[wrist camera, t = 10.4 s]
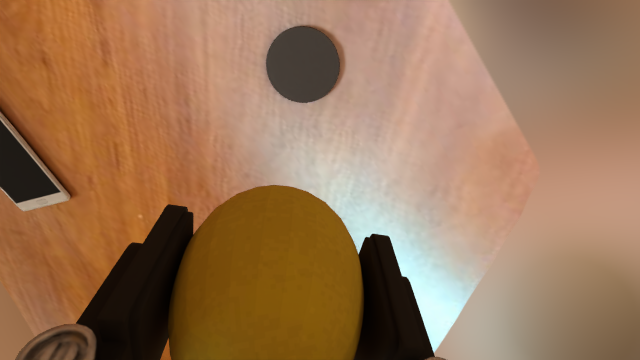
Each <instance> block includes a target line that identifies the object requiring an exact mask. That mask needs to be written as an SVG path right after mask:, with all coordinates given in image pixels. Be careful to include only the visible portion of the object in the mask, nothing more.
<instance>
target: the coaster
mask: <svg viewBox="0 0 640 360" xmlns="http://www.w3.org/2000/svg"><path fill="white" fill-rule="evenodd" d="M266 67H267V74H268V77H269V80H270V82H271V84H272V85H273V87H274V88H275V89H276V90H277V91H278V92H279V93H280V94H281V95H282V96H284V97H285V98H287V99H289V100H291V101H295V102H300V103H307V102H313V101H316V100H318V99H320V98H322V97H324V96H325V95H326V94H327V93H328V92H329V91H330V90H331V89H332V88H333V86H334V85H335V83H336V81H337V78H338V75H339V67H340V63H339V57H338V53H337V50H336V48H335V46H334V44H333V43H332V41H331V40H330V39H329V38H328V37H327V36H326V35H325V34H324V33H322V32H321V31H319V30H317V29H314V28H311V27H305V26H299V27H294V28H290V29H288V30H286V31H284V32H283V33H281V34H280V35H279V36H278V37H277V38H276V39H275V40H274V41H273V43H272V45H271V47H270V49H269V51H268V54H267V60H266Z"/></svg>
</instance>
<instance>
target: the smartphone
mask: <svg viewBox="0 0 640 360" xmlns="http://www.w3.org/2000/svg"><path fill="white" fill-rule="evenodd" d="M0 188H1V189H2V191H3V192H4V193H5V194H6V195H7V196H8V197H9V198H10V199H11V200H12V201H13V202H14V203H15V204H16V205H17V206H18V207H19V208H20V209H21V210H23V211H29V210H33V209H37V208H40V207H44V206H48V205H52V204H56V203H60V202H64V201H68V200H69V199H70V194H69V193H68V192H67V191H66V190H65V188H64V187H63V186H62V185H61V184H60V182H59V181H58V180H57V179H56V178H55V176H54V175H53V174H52V173H51V171H50V170H49V169H48V168H47V167H46V165H45V164H44V163H43V162H42V161H41V159H40V158H39V157H38V156H37V155H36V153H35V152H34V151H33V150H32V149H31V147H30V146H29V145H28V144H27V143H26V141H25V140H24V139H23V138H22V136H21V135H20V134H19V133H18V132H17V130H16V129H15V128H14V127H13V126H12V124H11V123H10V122H9V121H8V120H7V118H6V117H5V116H4V115H3V114H2V112H1V111H0Z"/></svg>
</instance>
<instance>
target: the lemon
mask: <svg viewBox="0 0 640 360" xmlns="http://www.w3.org/2000/svg"><path fill="white" fill-rule="evenodd" d="M363 313H364V287H363V278H362V272H361V265H360V260H359V256H358V252H357V249H356V246H355V244H354V242H353V239H352V237H351V236H350V234H349V232H348V230H347V228H346V226H345V225H344V223H343V221H342V220H341V218H340V217H339V216H338V215H337V214H336V213H335V212H334V211H333V210H332V209H331V208H330V207H329V206H328V205H327V204H326V203H325V202H324V201H322V200H320V199H319V198H317V197H315V196H314V195H312V194H310V193H309V192H307V191H303V190H300V189H297V188H294V187H289V186H279V185H270V186H261V187H256V188H253V189H250V190H247V191H244V192H241V193H238V194H236V195H235V196H233V197H232V198H230V199H229V200H227V201H226V202H224V203H223V204H221V205H220V206H218V207H217V208H216V209H215V210H214V211H213V212H212V213H211V214H210V215H209V216H208V217H207V219H206V220H205V221H204V222H203V223H202V225H201V226H200V227H199V228H198V230H197V231H196V232H195V233H194V235H193V237H192V238H191V240H190V242H189V244H188V246H187V248H186V250H185V252H184V255H183V258H182V260H181V263H180V266H179V269H178V271H177V274H176V278H175V281H174V284H173V288H172V293H171V299H170V306H169V317H168V333H169V347H170V356H171V360H354V357H355V354H356V350H357V347H358V343H359V338H360V334H361V328H362V322H363Z"/></svg>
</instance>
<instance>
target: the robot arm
mask: <svg viewBox="0 0 640 360" xmlns="http://www.w3.org/2000/svg"><path fill="white" fill-rule="evenodd" d="M192 237H193V213H192V212H188V209H187V207H183V206H176V205H167V206H166V207H165V209H164V211H163V212H162V214H161V215H160V217H159V219H158V220H157V222H156V223H155V225H154V227H153V228H152V230H151V231H150V233H149V235H148V236H147V238H146V239H145V241H144V243H143V244H142V243H131V244H130V245H129V246H128V247H127V248H126V250H125V251H124V253H123V254H122V256H121V257H120V259H119V260H118V262H117V263H116V265H115V266H114V268H113V269H112V270H111V272H110V273H109V275H108V276H107V278H106V279H105V281H104V282H103V284H102V285H101V287H100V288H99V290H98V291H97V293H96V294H95V296H94V297H93V299H92V300H91V302H90V303H89V305H88V306H87V308H86V309H85V311H84V312H83V314H82V315H81V317H80V318H79V320H78V321H77V322H76V324H64V325H61V326H57V327H53V328H51V329H49V330H47V331H45V332H43V333H41V334H39V335H38V336H36V337H35V338H33V339H32V340H31V341H29V342H28V343H27V344H26V345H25V347H24V348H23V349H22V350H21V351H20V352H19V354H18V355H17V357H16V359H15V360H160V358H161V356H162V353H163V350H164V348H165V345H166V343H167V340H168V338H169V333H168V317H169V306H170V299H171V293H172V288H173V284H174V281H175V278H176V274H177V271H178V269H179V266H180V263H181V260H182V258H183V255H184V252H185V250H186V248H187V246H188V244H189V242H190V240H191V238H192ZM358 256H359V260H360V265H361V272H362V278H363V287H364V313H363V322H362V328H361V334H360V338H359V343H358V347H357V350H356V354H355V357H354V360H446V359H443V358H440V357H435V356H434V353H433V350H432V347H431V344H430V341H429V338H428V335H427V332H426V329H425V326H424V323H423V320H422V317H421V314H420V311H419V308H418V305H417V302H416V299H415V296H414V293H413V290H412V287H411V284H410V282H409V280H408V278H407V277H403V276H402V275H401V272H400V269H399V266H398V262H397V259H396V256H395V253H394V250H393V246H392V243H391V240H390V238H389V236H385V235H378V234H372V235H371V236H370V238H369V237H366V238H365V239H364V242H363V244H362V247H361V250H360V252H359V255H358Z"/></svg>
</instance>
